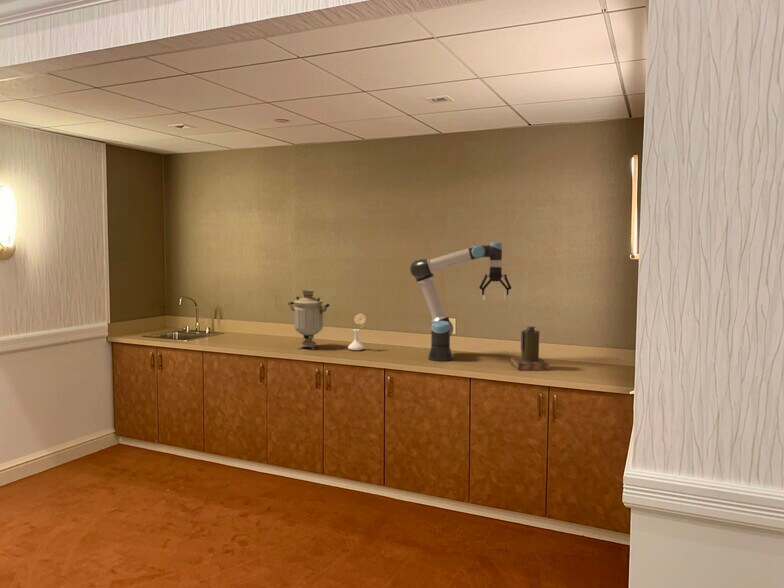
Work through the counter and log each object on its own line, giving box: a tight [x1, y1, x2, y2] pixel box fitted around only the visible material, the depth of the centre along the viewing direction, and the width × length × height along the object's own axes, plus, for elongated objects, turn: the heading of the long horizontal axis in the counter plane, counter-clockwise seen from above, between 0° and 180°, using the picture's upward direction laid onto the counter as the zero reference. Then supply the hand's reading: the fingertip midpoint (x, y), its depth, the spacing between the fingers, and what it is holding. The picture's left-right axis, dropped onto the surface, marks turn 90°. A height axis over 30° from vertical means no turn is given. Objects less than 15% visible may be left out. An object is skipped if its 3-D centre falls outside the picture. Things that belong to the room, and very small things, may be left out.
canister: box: [520, 326, 541, 362], centre depth 355 cm, size 11×10×20 cm
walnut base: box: [510, 357, 550, 371], centre depth 356 cm, size 18×18×4 cm
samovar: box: [287, 289, 330, 350], centre depth 418 cm, size 30×26×40 cm
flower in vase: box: [347, 313, 367, 351], centre depth 408 cm, size 13×11×25 cm
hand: (495, 300), depth 382 cm, fingers open, 13 cm apart
